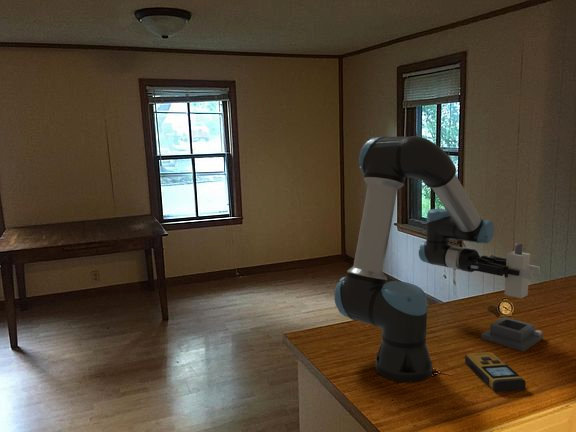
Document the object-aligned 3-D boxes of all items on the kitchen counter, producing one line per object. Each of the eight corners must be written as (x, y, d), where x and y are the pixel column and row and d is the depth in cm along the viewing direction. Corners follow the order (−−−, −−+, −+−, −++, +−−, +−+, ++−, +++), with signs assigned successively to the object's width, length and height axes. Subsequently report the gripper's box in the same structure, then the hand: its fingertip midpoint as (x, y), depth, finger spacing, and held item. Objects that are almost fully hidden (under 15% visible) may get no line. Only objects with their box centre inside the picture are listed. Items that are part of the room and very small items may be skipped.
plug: (520, 298, 145) (523, 246, 143) (504, 294, 149) (507, 243, 146) (527, 295, 148) (530, 244, 146) (511, 291, 152) (514, 241, 149)
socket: (523, 351, 141) (524, 337, 140) (481, 338, 151) (481, 324, 150) (542, 338, 149) (543, 324, 148) (501, 326, 159) (501, 313, 158)
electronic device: (492, 361, 137) (493, 350, 136) (526, 391, 121) (527, 378, 120) (462, 363, 136) (463, 351, 135) (492, 394, 120) (493, 380, 119)
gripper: (476, 264, 167) (547, 279, 150) (448, 275, 156) (521, 292, 138) (477, 243, 166) (548, 255, 148) (448, 252, 155) (522, 266, 137)
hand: (535, 273), depth 143 cm, fingers closed on plug, 4 cm apart
